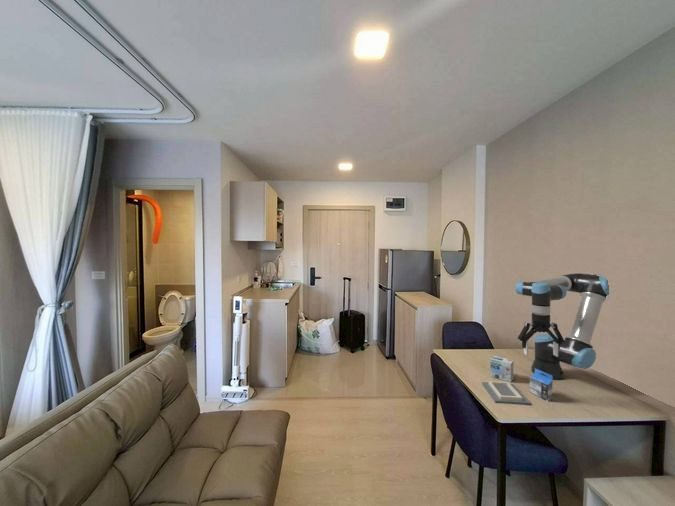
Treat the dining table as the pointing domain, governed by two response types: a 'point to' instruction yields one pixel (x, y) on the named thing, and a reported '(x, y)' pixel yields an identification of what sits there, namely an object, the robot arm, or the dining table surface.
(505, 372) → the light bulb box
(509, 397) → the grey platform
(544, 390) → the label tape cartridge
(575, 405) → the dining table surface
